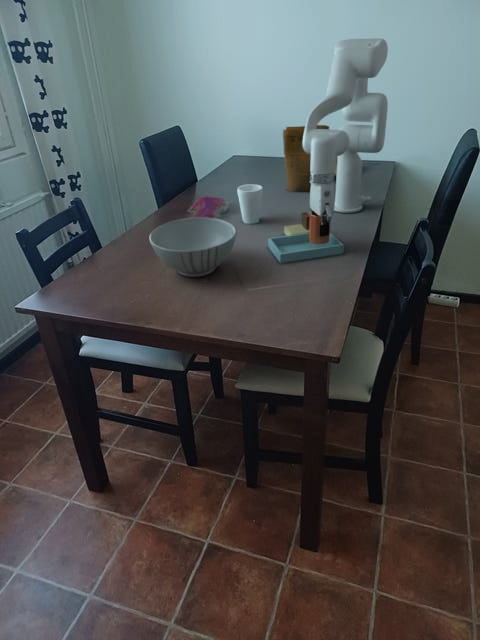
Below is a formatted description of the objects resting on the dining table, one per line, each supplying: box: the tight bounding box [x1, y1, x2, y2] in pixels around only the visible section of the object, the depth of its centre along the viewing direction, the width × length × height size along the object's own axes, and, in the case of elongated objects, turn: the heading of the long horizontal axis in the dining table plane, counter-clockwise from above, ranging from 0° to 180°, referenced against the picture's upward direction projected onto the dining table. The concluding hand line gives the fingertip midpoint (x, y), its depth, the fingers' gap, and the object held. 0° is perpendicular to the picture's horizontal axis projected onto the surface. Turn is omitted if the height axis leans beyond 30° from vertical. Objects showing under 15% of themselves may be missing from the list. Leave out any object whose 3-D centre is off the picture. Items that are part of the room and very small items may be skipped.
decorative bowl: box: [148, 216, 238, 278], centre depth 149 cm, size 27×27×12 cm
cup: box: [309, 211, 332, 244], centre depth 156 cm, size 7×7×10 cm
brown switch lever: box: [300, 211, 310, 230], centre depth 168 cm, size 5×2×5 cm, turn 14°
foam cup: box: [236, 183, 264, 225], centre depth 182 cm, size 10×9×13 cm
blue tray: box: [267, 232, 345, 264], centre depth 159 cm, size 22×14×3 cm, turn 103°
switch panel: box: [283, 223, 309, 236], centre depth 170 cm, size 12×9×3 cm
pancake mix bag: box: [282, 124, 330, 193], centre depth 205 cm, size 7×19×28 cm, turn 75°
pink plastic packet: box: [187, 196, 232, 219], centre depth 191 cm, size 30×15×5 cm, turn 167°
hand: (319, 231), depth 157 cm, fingers closed on cup, 6 cm apart
